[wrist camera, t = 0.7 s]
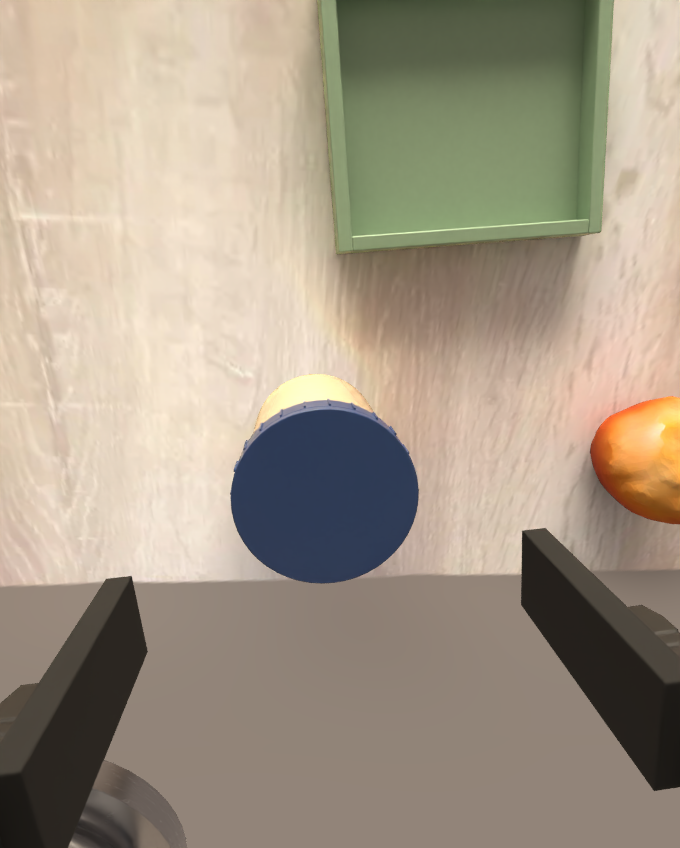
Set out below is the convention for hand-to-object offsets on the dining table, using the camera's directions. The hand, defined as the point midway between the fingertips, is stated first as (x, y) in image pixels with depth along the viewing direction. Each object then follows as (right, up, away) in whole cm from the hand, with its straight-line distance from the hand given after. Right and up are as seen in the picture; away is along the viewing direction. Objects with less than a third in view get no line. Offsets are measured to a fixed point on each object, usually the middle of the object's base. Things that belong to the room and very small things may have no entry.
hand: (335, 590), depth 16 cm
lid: (0, +2, +8) cm, 8 cm away
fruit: (+21, +4, +20) cm, 29 cm away
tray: (+7, +23, +14) cm, 28 cm away
